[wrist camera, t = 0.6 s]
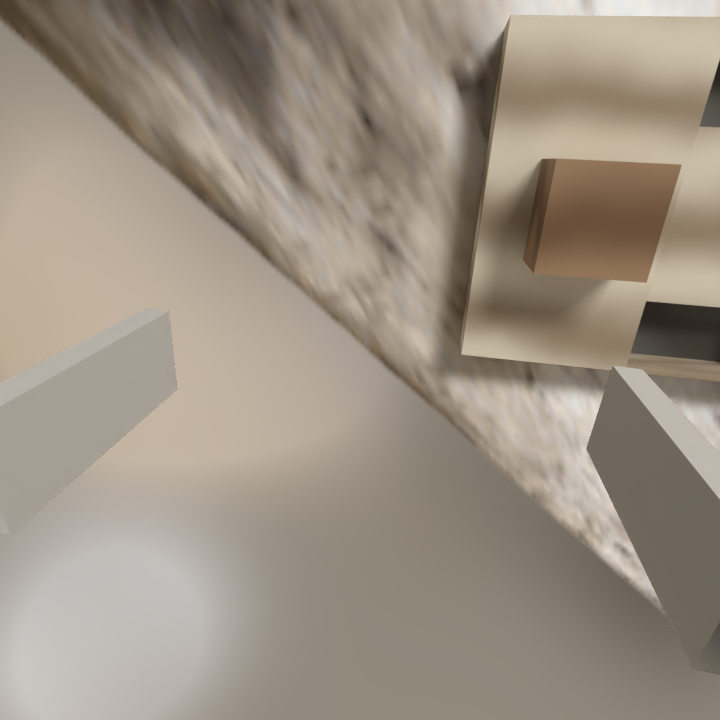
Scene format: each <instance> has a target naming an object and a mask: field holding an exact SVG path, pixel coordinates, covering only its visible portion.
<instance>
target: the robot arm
mask: <svg viewBox="0 0 720 720" xmlns="http://www.w3.org/2000/svg"><path fill="white" fill-rule="evenodd" d="M175 373H176V372H175V363H174V354H173V345H172V335H171V327H170V318H169V311H163V310H155V309H144V310H142V311H140V312H138V313H136V314H134V315H132V316H130V317H128V318H126V319H124V320H122V321H120V322H119V323H117V324H115V325H113V326H111V327H109V328H107V329H105V330H103V331H101V332H99V333H97V334H95V335H93V336H91V337H89V338H87V339H85V340H84V341H81V342H79V343H77V344H75V345H74V346H72V347H70V348H68V349H66V350H64V351H62V352H60V353H58V354H56V355H54V356H52V357H50V358H48V359H46V360H44V361H42V362H40V363H38V364H37V365H34V366H32V367H30V368H29V369H27V370H25V371H23V372H21V373H19V374H17V375H15V376H13V377H11V378H9V379H7V380H5V381H3V382H1V383H0V534H4V535H9V536H10V535H12V534H13V533H14V532H15V531H16V530H17V529H18V528H20V527H21V526H22V525H23V524H24V523H25V522H26V521H28V520H29V519H30V518H31V517H32V516H33V515H34V514H36V513H37V512H38V511H39V510H40V509H41V508H42V507H44V506H45V505H46V504H47V503H48V502H49V501H50V500H51V499H53V498H54V497H55V496H56V495H57V494H58V493H60V492H61V491H62V490H63V489H64V488H65V487H66V486H68V485H69V484H70V483H71V482H72V481H73V480H74V479H75V478H77V477H78V476H79V475H80V474H81V473H82V472H84V471H85V470H86V469H87V468H88V467H89V466H90V465H92V464H93V463H94V462H95V461H96V460H97V459H99V457H101V456H102V455H103V454H104V453H105V452H107V451H108V450H109V449H110V448H111V447H112V446H113V445H115V443H117V442H118V441H119V440H120V439H121V438H122V437H124V436H125V435H126V434H127V433H128V432H129V431H130V430H132V429H133V428H134V427H135V426H136V425H137V424H139V423H140V422H141V421H142V420H143V419H144V418H145V417H147V416H148V415H149V414H150V413H151V412H152V411H153V410H155V409H156V408H157V407H158V406H159V405H160V404H161V403H163V402H164V401H165V400H166V399H167V398H168V397H169V396H170V395H172V394H173V393H174V392H175V391H176V390H177V381H176V374H175ZM586 449H587V451H588V453H589V455H590V457H591V459H592V461H593V464H594V466H595V468H596V470H597V472H598V474H599V476H600V478H601V480H602V482H603V484H604V486H605V488H606V491H607V493H608V495H609V497H610V499H611V501H612V503H613V505H614V507H615V509H616V511H617V513H618V515H619V518H620V520H621V522H622V524H623V526H624V528H625V530H626V532H627V534H628V536H629V538H630V540H631V542H632V544H633V547H634V549H635V551H636V553H637V555H638V557H639V559H640V561H641V563H642V565H643V567H644V569H645V571H646V574H647V576H648V578H649V580H650V582H651V584H652V586H653V588H654V590H655V592H656V594H657V596H658V598H659V601H660V603H661V605H662V607H663V609H664V611H665V613H666V615H667V617H668V619H669V621H670V623H671V625H672V627H673V630H674V632H675V634H676V636H677V638H678V640H679V642H680V644H681V646H682V648H683V650H684V652H685V654H686V656H687V659H688V661H689V663H690V665H691V667H692V669H695V670H700V671H704V672H709V673H714V674H719V675H720V453H719V452H718V451H717V450H716V449H715V447H714V446H713V445H712V444H711V443H710V442H709V441H708V440H707V439H706V438H705V437H704V436H703V434H702V433H701V432H700V431H699V430H698V429H697V428H696V427H695V426H694V425H693V424H692V423H691V421H690V420H689V419H688V418H687V417H686V416H685V415H684V414H683V413H682V412H681V411H680V410H679V408H678V407H677V406H676V405H675V404H674V403H673V402H672V401H671V400H670V399H669V398H668V397H667V395H666V394H665V393H664V392H663V391H662V390H661V389H660V388H659V387H658V386H657V385H656V384H655V382H654V381H653V380H652V379H651V378H650V377H649V376H648V375H647V374H646V373H645V372H644V371H643V369H636V368H627V367H619V366H613V367H612V370H611V373H610V377H609V380H608V383H607V386H606V389H605V392H604V395H603V398H602V402H601V405H600V408H599V411H598V414H597V417H596V420H595V423H594V426H593V430H592V433H591V436H590V439H589V442H588V445H587V448H586Z"/></svg>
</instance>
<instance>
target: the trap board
mask: <svg viewBox="0 0 720 720" xmlns="http://www.w3.org/2000/svg"><path fill="white" fill-rule="evenodd" d="M556 158H557V159H577V160H598V161H619V162H639V163H660V164H680V165H682V166H681V169H680V173H679V176H678V179H677V183H676V186H675V190H674V193H673V196H672V200H671V203H670V206H669V210H668V213H667V216H666V220H665V223H664V226H663V230H662V233H661V236H660V240H659V243H658V246H657V250H656V253H655V256H654V260H653V263H652V266H651V270H650V273H649V276H648V280H647V283H643V282H631V281H619V280H606V279H594V278H582V277H569V276H557V275H544V274H534V273H533V272H532V271H531V270H530V268H529V267H528V266H527V264H526V263H525V262H524V261H523V257H524V252H525V246H526V241H527V236H528V230H529V225H530V220H531V214H532V209H533V204H534V198H535V193H536V188H537V182H538V177H539V171H540V166H541V161H542V159H556ZM460 345H461V355H470V356H479V357H488V358H498V359H507V360H517V361H526V362H536V363H545V364H555V365H564V366H574V367H583V368H593V369H602V370H612V367H613V366H619V367H627V368H636V369H643V371H644V372H645V373H646V374H650V375H659V376H669V377H678V378H688V379H697V380H707V381H716V382H720V17H659V16H550V15H511V16H510V18H509V20H508V22H507V24H506V27H505V29H504V35H503V42H502V49H501V56H500V63H499V70H498V77H497V84H496V91H495V98H494V105H493V112H492V119H491V126H490V133H489V140H488V147H487V154H486V161H485V168H484V175H483V182H482V189H481V197H480V204H479V211H478V218H477V225H476V232H475V239H474V246H473V253H472V260H471V267H470V274H469V281H468V288H467V295H466V302H465V309H464V316H463V323H462V330H461V337H460Z"/></svg>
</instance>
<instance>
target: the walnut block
mask: <svg viewBox="0 0 720 720" xmlns="http://www.w3.org/2000/svg"><path fill="white" fill-rule="evenodd" d="M681 166H682V165H680V164H660V163H639V162H619V161H598V160H577V159H557V158H556V159H542V161H541V166H540V171H539V177H538V182H537V188H536V193H535V198H534V204H533V209H532V214H531V220H530V225H529V230H528V236H527V241H526V246H525V252H524V257H523V261H524V262H525V263H526V264H527V266H528V267H529V268H530V270H531V271H532V272H533V273H534V274H544V275H557V276H569V277H582V278H594V279H606V280H619V281H631V282H643V283H647V280H648V276H649V273H650V270H651V266H652V263H653V260H654V256H655V253H656V250H657V246H658V243H659V240H660V236H661V233H662V230H663V226H664V223H665V220H666V216H667V213H668V210H669V206H670V203H671V200H672V196H673V193H674V190H675V186H676V183H677V179H678V176H679V173H680V169H681Z"/></svg>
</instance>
